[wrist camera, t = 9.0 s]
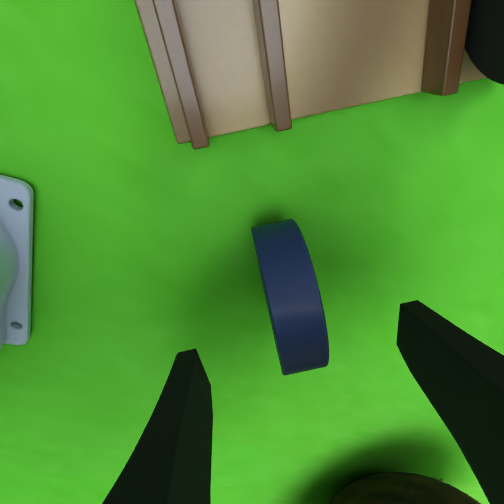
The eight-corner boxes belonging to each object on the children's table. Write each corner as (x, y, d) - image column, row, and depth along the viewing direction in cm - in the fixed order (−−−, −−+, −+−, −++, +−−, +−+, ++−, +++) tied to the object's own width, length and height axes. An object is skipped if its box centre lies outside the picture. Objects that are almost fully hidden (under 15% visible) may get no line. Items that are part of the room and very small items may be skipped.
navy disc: (265, 298, 19) (289, 406, 14) (245, 201, 15) (268, 299, 10) (295, 292, 19) (331, 397, 14) (283, 192, 15) (326, 287, 10)
